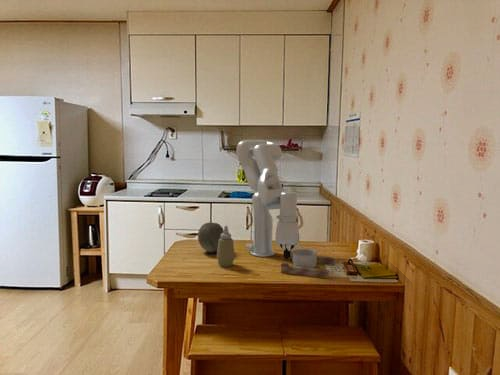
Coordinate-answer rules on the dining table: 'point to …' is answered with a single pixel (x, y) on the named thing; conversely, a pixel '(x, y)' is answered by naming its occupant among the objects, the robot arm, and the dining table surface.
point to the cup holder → (309, 271)
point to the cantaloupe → (210, 236)
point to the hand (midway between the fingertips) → (287, 258)
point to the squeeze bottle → (225, 249)
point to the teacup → (304, 258)
